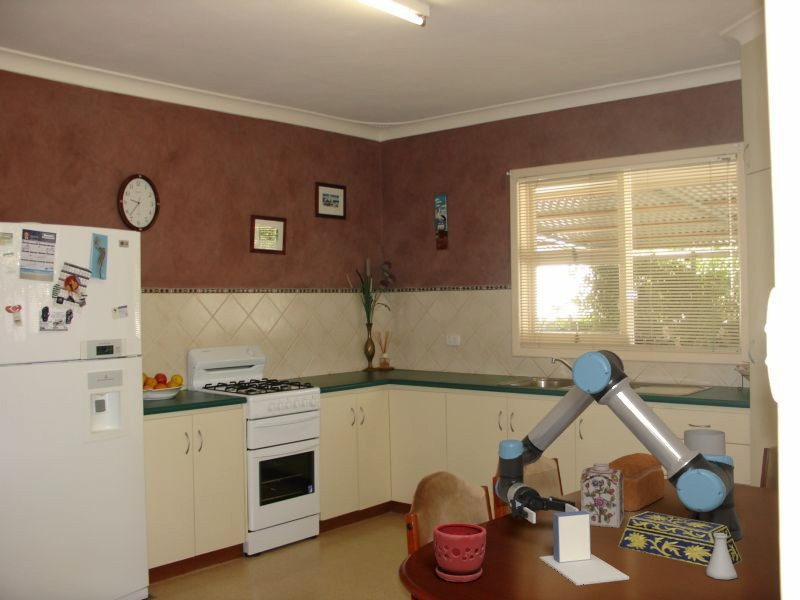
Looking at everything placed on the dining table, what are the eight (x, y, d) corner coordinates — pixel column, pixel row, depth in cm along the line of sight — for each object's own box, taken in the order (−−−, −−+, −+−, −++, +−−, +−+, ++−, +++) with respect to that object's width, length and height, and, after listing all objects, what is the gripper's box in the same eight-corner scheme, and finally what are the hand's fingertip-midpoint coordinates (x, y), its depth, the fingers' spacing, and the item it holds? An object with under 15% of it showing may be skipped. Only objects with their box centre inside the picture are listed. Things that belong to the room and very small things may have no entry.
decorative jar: (580, 525, 237) (579, 466, 237) (586, 516, 248) (584, 459, 248) (621, 528, 233) (619, 468, 233) (625, 518, 243) (623, 461, 244)
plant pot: (472, 589, 184) (471, 538, 185) (424, 580, 191) (423, 531, 192) (495, 572, 196) (494, 524, 196) (449, 564, 202) (448, 518, 203)
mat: (539, 559, 206) (539, 556, 206) (587, 553, 209) (587, 551, 209) (576, 585, 185) (576, 582, 185) (629, 579, 189) (629, 576, 189)
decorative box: (725, 572, 194) (724, 535, 194) (617, 547, 215) (616, 515, 215) (743, 561, 201) (742, 526, 201) (637, 539, 223) (636, 507, 223)
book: (554, 559, 203) (552, 513, 203) (585, 556, 205) (584, 510, 205) (559, 563, 200) (557, 516, 200) (591, 559, 202) (589, 513, 202)
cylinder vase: (708, 503, 261) (705, 428, 261) (736, 511, 249) (733, 433, 249) (677, 507, 256) (675, 431, 257) (705, 516, 244) (702, 436, 245)
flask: (700, 571, 193) (699, 531, 193) (728, 570, 194) (727, 529, 194) (714, 581, 186) (713, 539, 186) (743, 580, 187) (742, 538, 187)
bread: (597, 507, 259) (595, 459, 259) (629, 492, 279) (628, 448, 279) (637, 513, 250) (635, 464, 250) (667, 497, 270) (666, 451, 270)
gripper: (561, 507, 235) (596, 526, 215) (486, 514, 229) (514, 534, 209) (561, 482, 236) (596, 498, 215) (485, 488, 230) (514, 505, 209)
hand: (556, 516), depth 212 cm, fingers open, 12 cm apart
